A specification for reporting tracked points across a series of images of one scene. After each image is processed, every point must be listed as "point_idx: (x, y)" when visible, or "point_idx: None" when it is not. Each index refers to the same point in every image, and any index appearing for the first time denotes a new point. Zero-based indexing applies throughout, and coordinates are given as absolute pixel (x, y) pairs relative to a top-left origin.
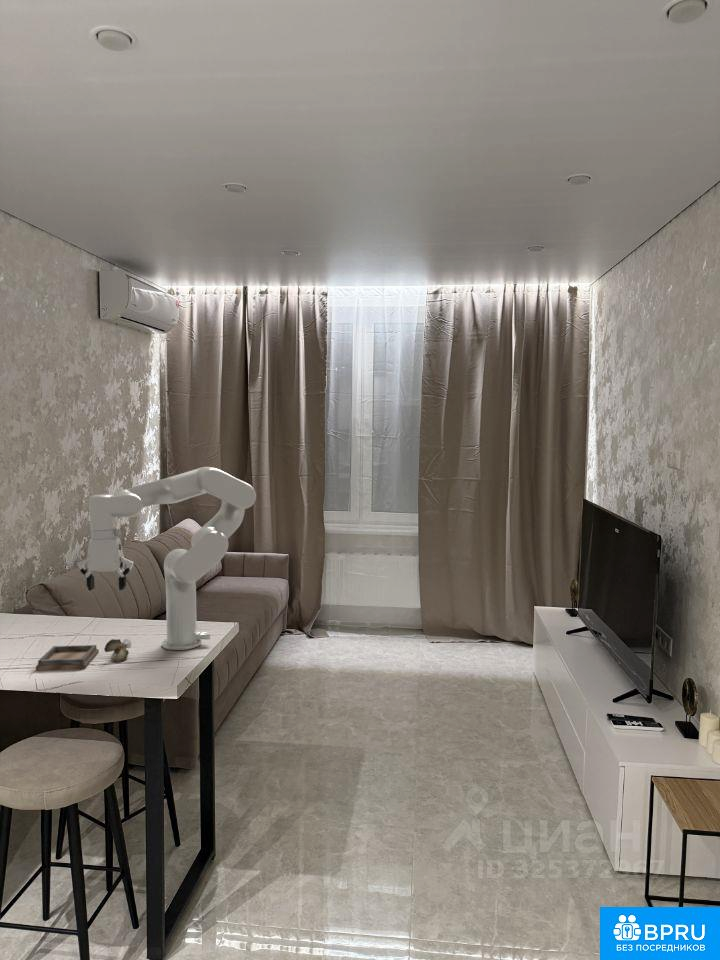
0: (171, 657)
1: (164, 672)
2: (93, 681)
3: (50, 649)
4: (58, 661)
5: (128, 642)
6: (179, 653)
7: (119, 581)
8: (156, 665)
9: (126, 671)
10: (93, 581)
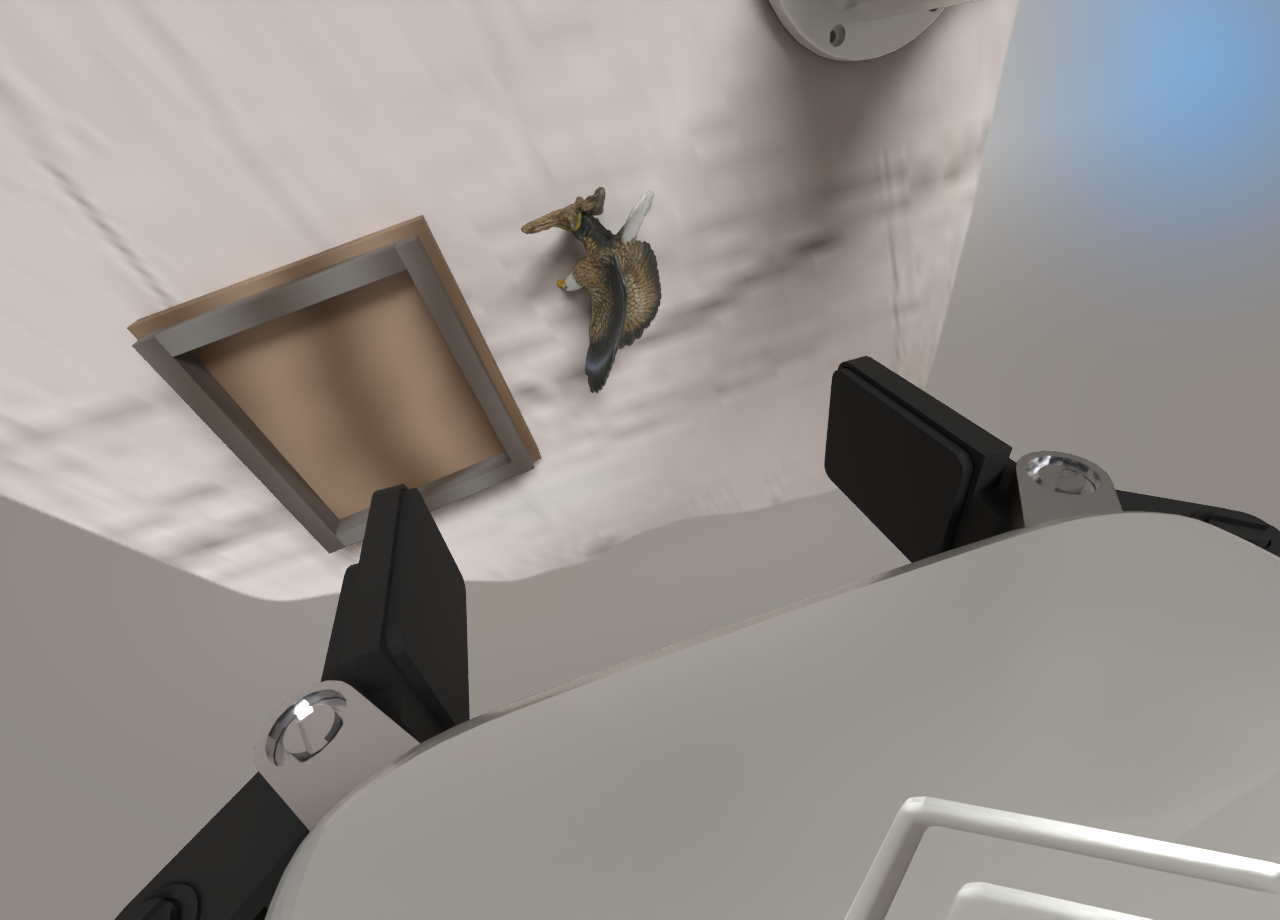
0: (851, 189)
1: None
2: (651, 526)
3: (193, 407)
4: None
5: (644, 213)
6: (879, 108)
7: (905, 545)
8: (811, 317)
9: (719, 414)
10: (421, 584)
